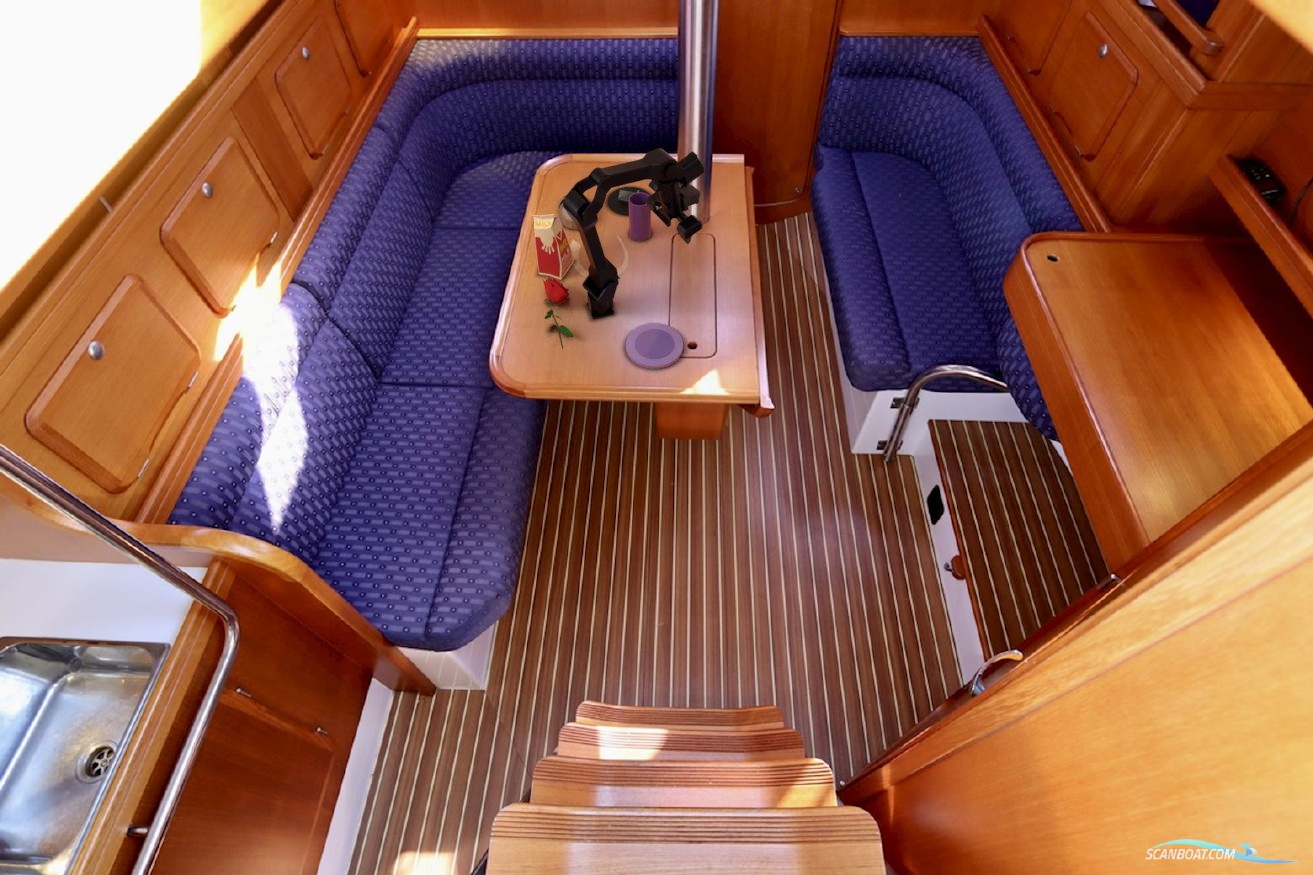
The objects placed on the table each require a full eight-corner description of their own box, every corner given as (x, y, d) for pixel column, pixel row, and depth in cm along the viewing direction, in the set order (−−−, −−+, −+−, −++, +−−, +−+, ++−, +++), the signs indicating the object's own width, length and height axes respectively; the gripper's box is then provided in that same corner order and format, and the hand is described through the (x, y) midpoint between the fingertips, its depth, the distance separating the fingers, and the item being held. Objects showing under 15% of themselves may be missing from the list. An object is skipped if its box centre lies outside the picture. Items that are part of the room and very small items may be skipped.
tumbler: (633, 242, 206) (632, 208, 195) (627, 229, 209) (625, 195, 199) (653, 238, 207) (653, 203, 196) (646, 225, 211) (646, 190, 200)
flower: (570, 328, 170) (553, 260, 188) (541, 346, 172) (527, 277, 190) (589, 347, 177) (571, 280, 195) (561, 364, 179) (545, 297, 197)
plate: (636, 375, 176) (636, 371, 174) (618, 334, 184) (618, 330, 183) (691, 360, 179) (691, 356, 178) (671, 320, 187) (671, 316, 186)
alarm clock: (564, 225, 206) (552, 191, 211) (565, 236, 210) (553, 202, 216) (598, 218, 208) (585, 184, 213) (598, 229, 212) (585, 195, 218)
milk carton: (574, 261, 201) (567, 206, 184) (562, 280, 196) (553, 225, 180) (547, 254, 203) (537, 199, 186) (534, 273, 198) (524, 218, 181)
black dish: (601, 210, 215) (600, 196, 210) (615, 184, 223) (615, 170, 218) (644, 219, 212) (644, 205, 208) (657, 192, 220) (657, 178, 216)
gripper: (714, 194, 170) (720, 236, 184) (672, 160, 179) (681, 202, 192) (681, 218, 169) (690, 258, 183) (640, 182, 177) (651, 223, 191)
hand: (678, 234), depth 187 cm, fingers open, 9 cm apart
